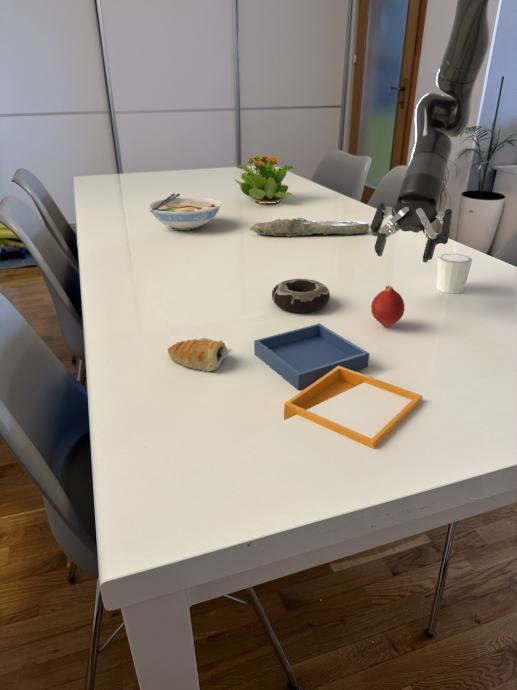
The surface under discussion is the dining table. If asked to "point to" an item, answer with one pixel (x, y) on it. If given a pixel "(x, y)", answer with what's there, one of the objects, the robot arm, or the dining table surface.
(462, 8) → the robot arm
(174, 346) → the pastry
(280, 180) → the potted flower
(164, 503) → the dining table surface
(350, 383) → the amber tray
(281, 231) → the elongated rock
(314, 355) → the blue tray
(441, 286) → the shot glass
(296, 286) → the donut
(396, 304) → the onion
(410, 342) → the dining table surface
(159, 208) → the ramen bowl
